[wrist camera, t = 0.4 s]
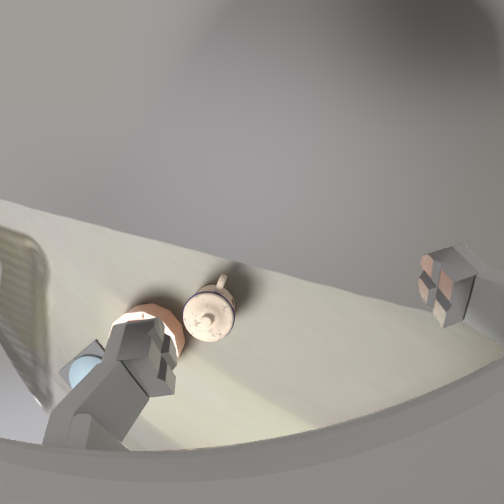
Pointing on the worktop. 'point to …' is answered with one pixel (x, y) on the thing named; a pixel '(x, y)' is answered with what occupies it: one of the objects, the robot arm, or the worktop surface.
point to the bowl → (167, 317)
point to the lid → (82, 368)
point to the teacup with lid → (210, 312)
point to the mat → (92, 350)
